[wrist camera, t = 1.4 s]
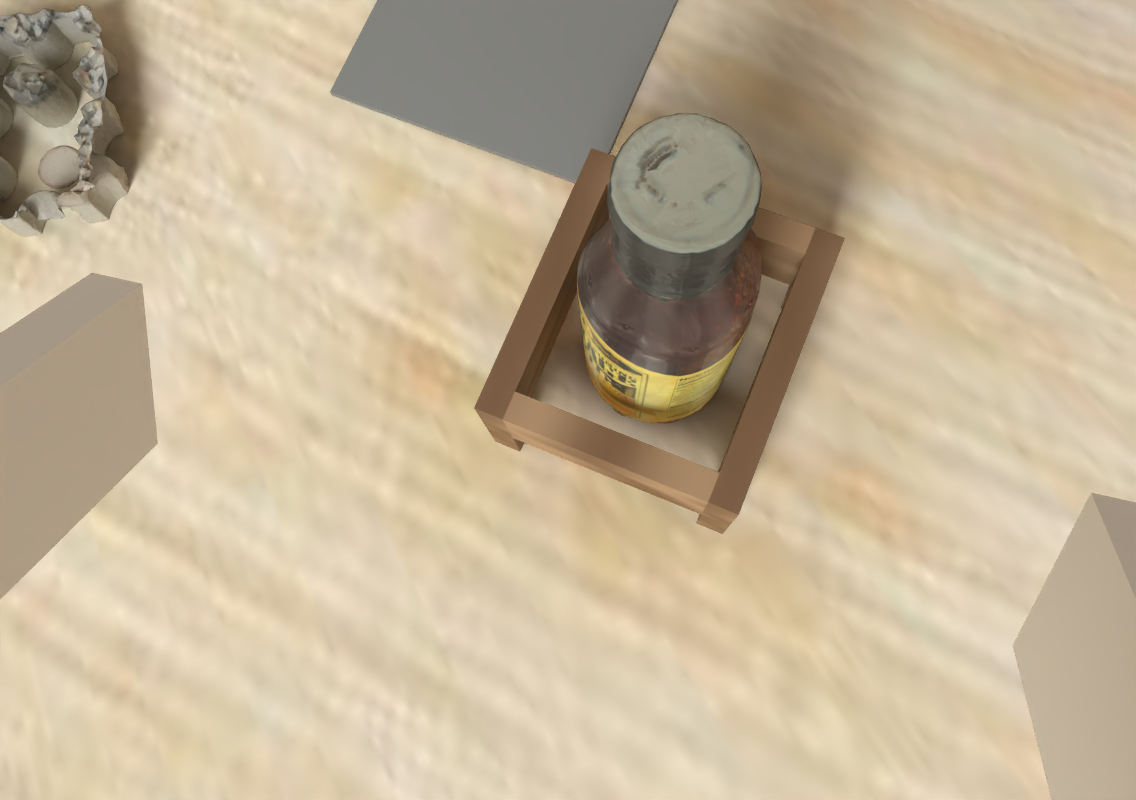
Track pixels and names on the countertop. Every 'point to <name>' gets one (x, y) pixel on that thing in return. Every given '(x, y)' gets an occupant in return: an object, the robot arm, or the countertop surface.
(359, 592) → the countertop surface
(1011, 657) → the countertop surface
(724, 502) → the wooden square frame
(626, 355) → the sauce bottle
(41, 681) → the countertop surface
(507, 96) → the slate mat
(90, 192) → the egg carton
